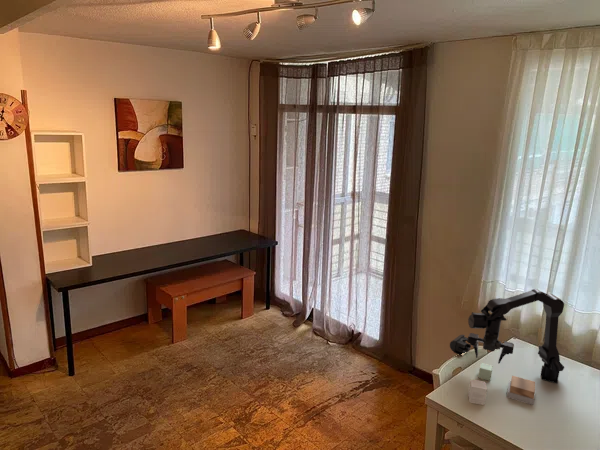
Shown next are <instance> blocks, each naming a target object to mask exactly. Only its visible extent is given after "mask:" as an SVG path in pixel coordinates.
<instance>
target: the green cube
mask: <svg viewBox="0 0 600 450" xmlns="http://www.w3.org/2000/svg"><path fill="white" fill-rule="evenodd" d="M493 367H494V365H491V364H487V363H483V362H480V365H479V370H478V371H479V372H478V375H477V376H478V378H479V379H482V380H486V381H489V382H490V381H491V380H492V374H493V369H494V368H493Z"/></svg>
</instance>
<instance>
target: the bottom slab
mask: <svg viewBox="0 0 600 450" xmlns="http://www.w3.org/2000/svg"><path fill="white" fill-rule="evenodd" d="M510 386H511V380H509V381H508V386H507V392H506V398H509V399H512V400H515V401H518V402H522V403H525V404H527V405H532V406H533V405H534V402H535V398H534V399H532V398H529V397H525V396H522V395H518V394H515V393H511V392H510Z"/></svg>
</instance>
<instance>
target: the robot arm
mask: <svg viewBox="0 0 600 450" xmlns="http://www.w3.org/2000/svg"><path fill="white" fill-rule="evenodd" d="M535 302H539V303H540V302H541V303H542V307H543V309H544V312H545V327H544V339H543V344H542V345H539V346H538V352H537V354H538V355H539V358H540V359H541V361H542V362H543V365H542V366H541V369H540V370H541V371H540V376H541V380H544V381H547V382H551V383H554V384H558V383H559V377H560V372H563V371H564V369H565V366H564V364H562V362H561V358H560V353H559V350H558V348H557V344H558V341H557V340H558V331H559V330H558V329H559V318H560V316H561V314H562V313H563V311H564V309H565V308H564V307H565V302H564V301H563V300H562V299H561V298H559V297H557V296H556V295H554V294H553V293H545V292H544V291H541V290H539V289H538V288H533V289H531V290H529V291H526V292H522V293H520V294H517V295H513V296H511V297H507V298H501V297H500V298H492V299H490V300H488V301H487V304H486V305H485V306H484V307H483V308H482V309H481V310H480V312H471V314H470V315H469V317H468V318H467V320H468V321H467V322H468V326H469V328H470V329H480V330H481V329H482V330H484V329H485V330H484V334H483V338H482V337H479V334H478V333H473V332H469V334H468V336H467V338H468V340H467V341H466V343H468V344H470V345H471V347H473V349H474V353H475V359H476V358H478V357H479V356H478V355H479V343H481V344H483V345H482V349H483V350H484V351H485V350H486V351H490V352H495V351H496V350H501V352H500V355H499V357H498V361H497V363H498V365H499V364H500V363H502V362H501V361H502V360H503V358H504V357H505V356H506V355H510V354H511V355H512V354H513V353H514V347H515V344H514V343H513V342H510V341H505V340H504V342H503V343H502V342H501V341H500V340H499V337H500V332H501V331H500V329H501V324H502V321H507V318H506V317H505V316H504V315H507V314H508V313H509V312H510V311H511V310H513V309H515V308H516V309H517V308H519V307H522V306H525V305H528V304H532V303H535ZM501 348H502V349H501Z"/></svg>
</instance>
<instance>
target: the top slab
mask: <svg viewBox="0 0 600 450" xmlns="http://www.w3.org/2000/svg"><path fill="white" fill-rule="evenodd" d="M510 381H511V386H510V392H511V393H515V394H518V395H522V396H525V397H529V398H532V399H534V400H535V394H536V381H534V380H530V379H527V378H523V377H520V376H515V375H511V379H510Z"/></svg>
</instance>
